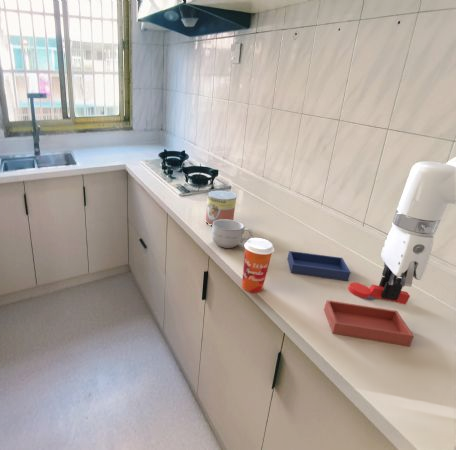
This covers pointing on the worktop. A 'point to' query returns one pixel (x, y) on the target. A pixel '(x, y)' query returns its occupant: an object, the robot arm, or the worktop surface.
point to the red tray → (367, 323)
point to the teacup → (229, 233)
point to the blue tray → (318, 265)
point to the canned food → (220, 205)
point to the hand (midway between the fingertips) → (386, 295)
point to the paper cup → (256, 263)
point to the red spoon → (375, 292)
